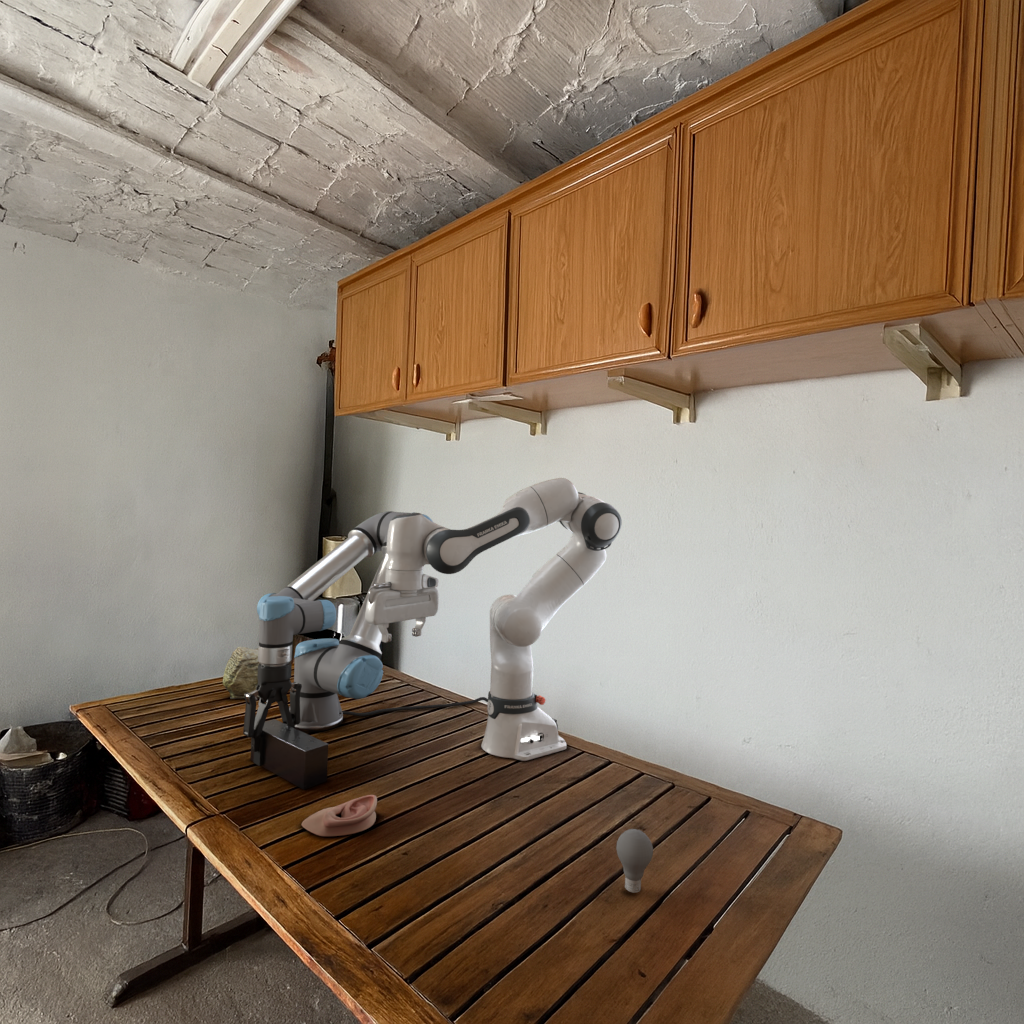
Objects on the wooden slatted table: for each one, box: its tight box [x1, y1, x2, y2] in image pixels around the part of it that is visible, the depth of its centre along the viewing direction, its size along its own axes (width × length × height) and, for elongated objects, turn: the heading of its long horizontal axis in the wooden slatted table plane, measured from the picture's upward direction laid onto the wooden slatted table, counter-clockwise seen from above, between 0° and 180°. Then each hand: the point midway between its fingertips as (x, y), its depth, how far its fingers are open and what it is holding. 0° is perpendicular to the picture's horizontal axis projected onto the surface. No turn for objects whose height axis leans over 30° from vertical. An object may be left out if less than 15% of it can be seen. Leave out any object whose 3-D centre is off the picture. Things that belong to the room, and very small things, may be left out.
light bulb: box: [615, 828, 654, 894], centre depth 106 cm, size 6×6×10 cm
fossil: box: [222, 646, 260, 699], centre depth 198 cm, size 9×18×15 cm, turn 132°
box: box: [250, 718, 329, 790], centre depth 146 cm, size 22×6×8 cm, turn 51°
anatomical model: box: [301, 794, 378, 837], centre depth 123 cm, size 13×4×12 cm
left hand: (271, 759), depth 150 cm, fingers closed on box, 6 cm apart
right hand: (401, 638), depth 151 cm, fingers open, 8 cm apart
